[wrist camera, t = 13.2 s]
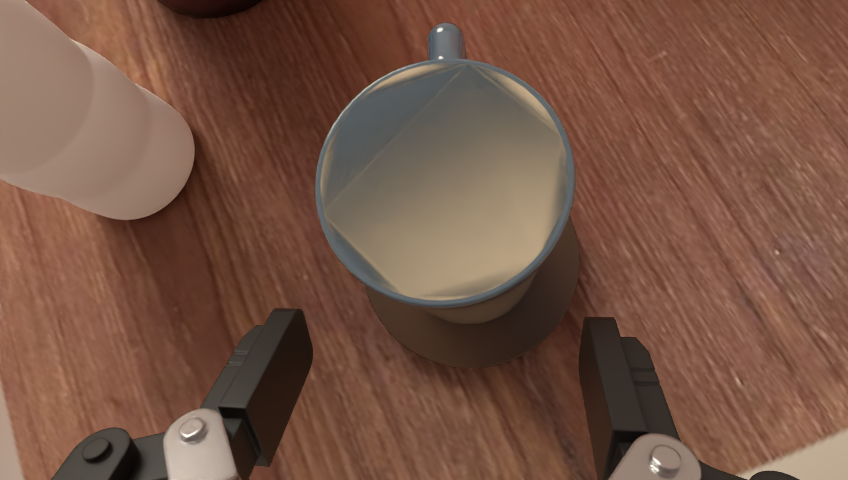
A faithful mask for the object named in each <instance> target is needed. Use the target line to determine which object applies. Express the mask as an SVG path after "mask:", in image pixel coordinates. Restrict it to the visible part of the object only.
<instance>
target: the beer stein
mask: <svg viewBox="0 0 848 480" xmlns="http://www.w3.org/2000/svg"><path fill="white" fill-rule="evenodd" d="M427 59H428V61H422V62H418V63H414V64H411V65H407V66H404V67H402V68H399V69H397V70H395V71H392V72H390V73H388V74H386V75H385V76H383V77H381V78H379V79H377V80H376V81H374V82H373V83H372V84H370V85H369V86H367V87H366V88H365V89H363V90H362V91H361V92H360V93H359V94H358V95H357V96H356V97H355V98H353V99H352V100H351V102H350V103H349V104H348V105H347V106H346V107H345V108H344V110H343V111H342V112H341V113H340V115H339V116H338V118H337V119H336V121H335V122H334V124H333V125H332V127H331V129H330V131H329V133H328V135H327V137H326V139H325V142H324V145H323V147H322V150H321V153H320V157H319V161H318V166H317V171H316V182H315V195H316V205H317V211H318V217H319V220H320V223H321V226H322V230H323V232H324V235H325V237H326V239H327V241H328V243H329V245H330V247H331V248H332V250H333V252H334V253H335V255H336V256H337V258H338V259H339V260H340V262H341V263H342V264H343V265H344V266H345V267H346V268H347V270H348V271H349V272H350V273H351V274H352V275H354V276H355V277H356V278H357V279H358V280H359V281H361V282H362V283H363V284H365V285H366V286H368V287H369V288H371V289H372V290H374V291H375V292H377V293H379V294H381V295H383V296H386V297H388V298H390V299H392V300H394V301H396V302H399V303H403V304H406V305H409V306H412V307H417V308H420V309H422V310H424V311H426V312H428V313H430V314H432V315H434V316H436V317H438V318H440V319H442V320H445V321H448V322H452V323H457V324H480V323H484V322H488V321H491V320H494V319H496V318H498V317H500V316H502V315H504V314H505V313H507V312H508V311H510V310H511V309H512V308H513V307H514V306H516V305H517V304H518V303H519V302H520V300H521V299H522V298H523V297H524V295H525V294H526V292H527V290H528V289H529V287H530V285H531V283H532V281H533V279H534V277H535V276H536V274H537V272H538V270H539V268H540V266H541V265H542V264H543V263H544V262H545V260H546V259H547V258H548V257H549V255H550V254H551V252H552V250H553V249H554V247H555V246H556V244H557V242H558V241H559V239H560V237H561V235H562V233H563V231H564V228H565V226H566V224H567V221H568V219H569V216H570V212H571V208H572V205H573V200H574V192H575V164H574V158H573V152H572V148H571V145H570V142H569V139H568V136H567V133H566V131H565V129H564V127H563V125H562V123H561V121H560V119H559V118H558V116H557V115H556V113H555V112H554V110H553V109H552V107H551V106H550V105H549V104H548V103H547V101H546V100H545V99H544V98H543V97H542V96H541V95H540V94H539V93H538V92H537V91H536V90H535V89H533V88H532V87H531V86H530V85H529V84H527V83H526V82H524V81H523V80H521V79H520V78H518V77H517V76H515V75H513V74H511V73H509V72H507V71H505V70H503V69H501V68H499V67H496V66H493V65H490V64H487V63H483V62H478V61H473V60H467V59H466V50H465V41H464V35H463V33H462V31H461V30H460V28H459V27H458V26H456V25H455V24H453V23H450V22H443V23H439V24H437V25H436V26H435V27H433V28H432V30H431V31H430V33H429V35H428V39H427Z"/></svg>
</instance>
